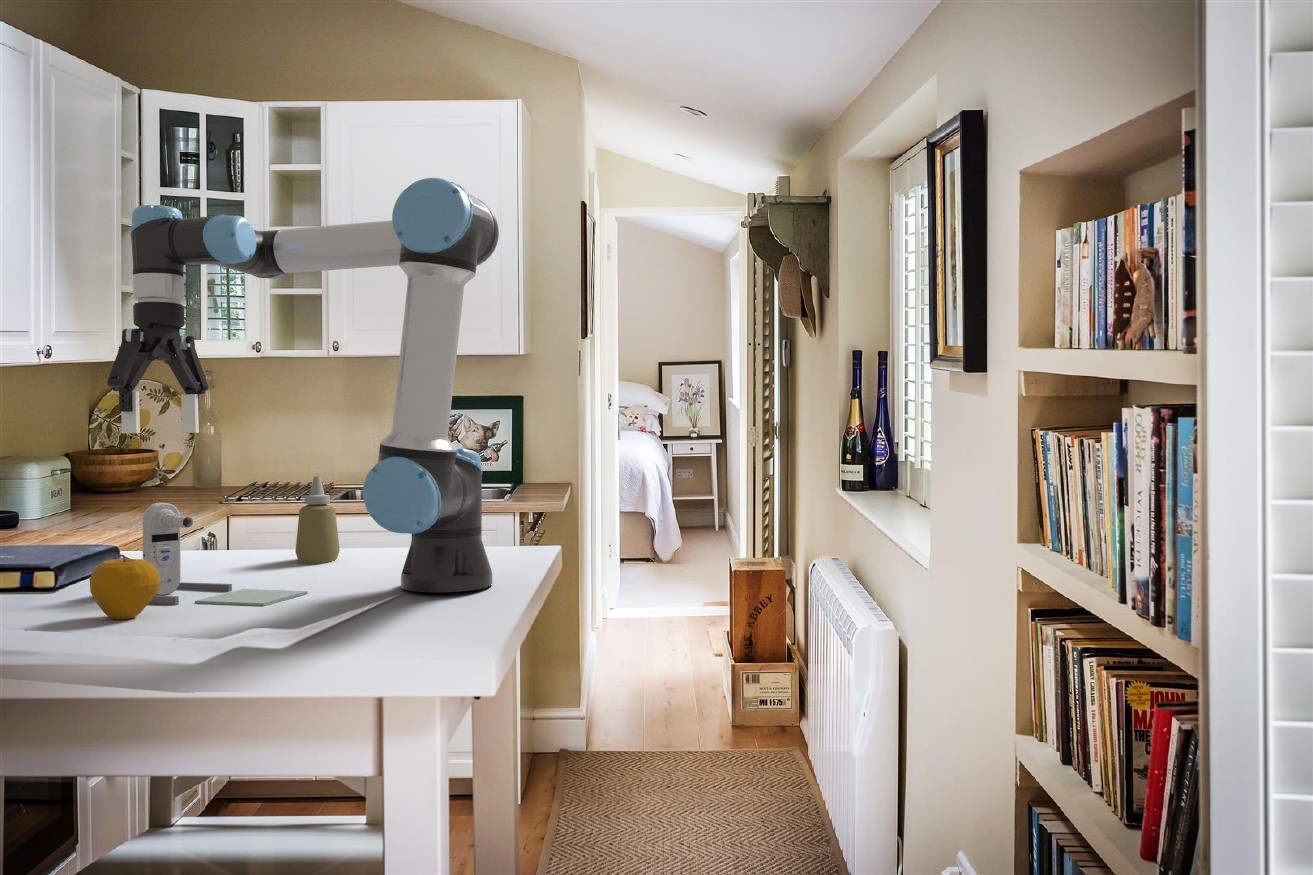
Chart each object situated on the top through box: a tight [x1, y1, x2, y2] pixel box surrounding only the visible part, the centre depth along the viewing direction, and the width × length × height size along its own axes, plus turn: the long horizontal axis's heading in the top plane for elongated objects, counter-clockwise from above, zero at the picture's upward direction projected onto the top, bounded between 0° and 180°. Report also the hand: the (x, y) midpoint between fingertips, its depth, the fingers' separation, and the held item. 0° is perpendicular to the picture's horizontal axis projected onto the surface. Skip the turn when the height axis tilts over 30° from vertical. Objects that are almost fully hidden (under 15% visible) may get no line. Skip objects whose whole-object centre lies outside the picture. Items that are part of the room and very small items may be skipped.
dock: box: [92, 581, 233, 606], centre depth 167 cm, size 17×19×4 cm
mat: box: [194, 588, 309, 607], centre depth 161 cm, size 12×12×1 cm
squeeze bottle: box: [294, 475, 341, 565], centre depth 194 cm, size 8×8×18 cm
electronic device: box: [142, 502, 194, 596], centre depth 163 cm, size 5×10×15 cm, turn 52°
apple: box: [89, 555, 161, 621], centre depth 145 cm, size 9×9×9 cm
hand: (161, 433), depth 165 cm, fingers open, 13 cm apart
